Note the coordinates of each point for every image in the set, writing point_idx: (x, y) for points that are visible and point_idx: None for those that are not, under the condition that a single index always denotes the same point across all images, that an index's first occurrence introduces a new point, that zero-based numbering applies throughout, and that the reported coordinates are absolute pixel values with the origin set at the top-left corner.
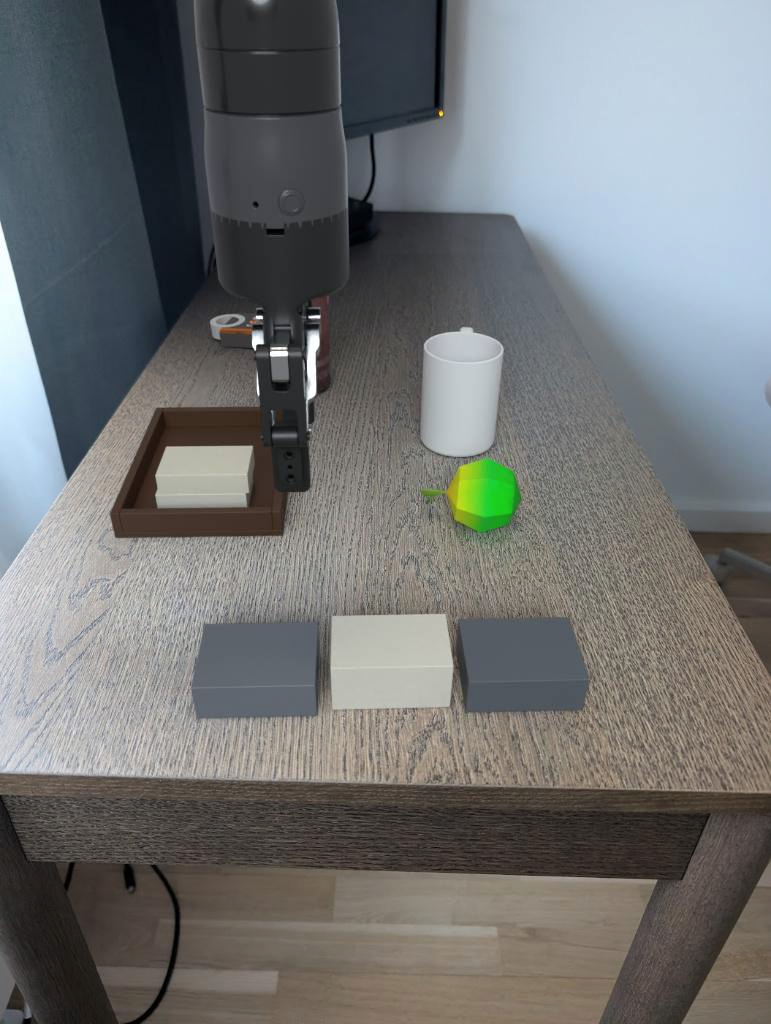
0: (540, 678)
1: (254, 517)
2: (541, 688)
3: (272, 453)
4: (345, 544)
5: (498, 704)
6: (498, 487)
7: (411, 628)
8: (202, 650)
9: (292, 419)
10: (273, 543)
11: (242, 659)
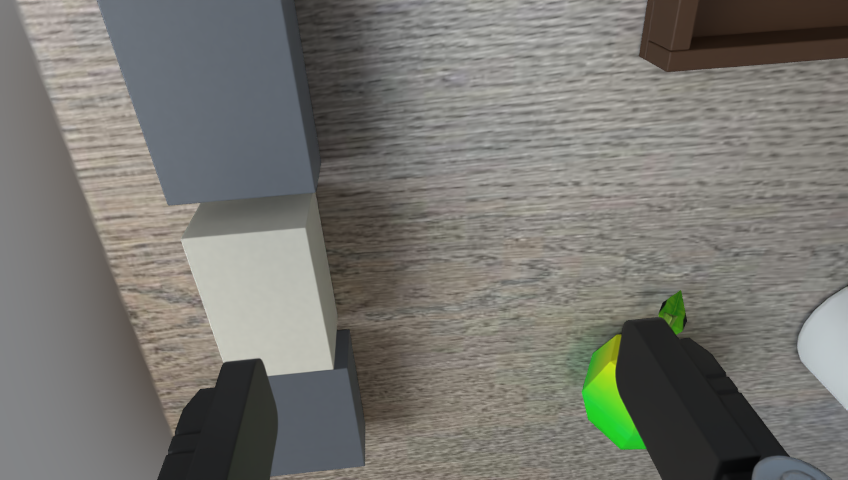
0: None
1: (669, 7)
2: None
3: (188, 473)
4: (593, 175)
5: None
6: (619, 434)
7: (294, 333)
8: None
9: (628, 348)
10: (616, 40)
11: (193, 79)
